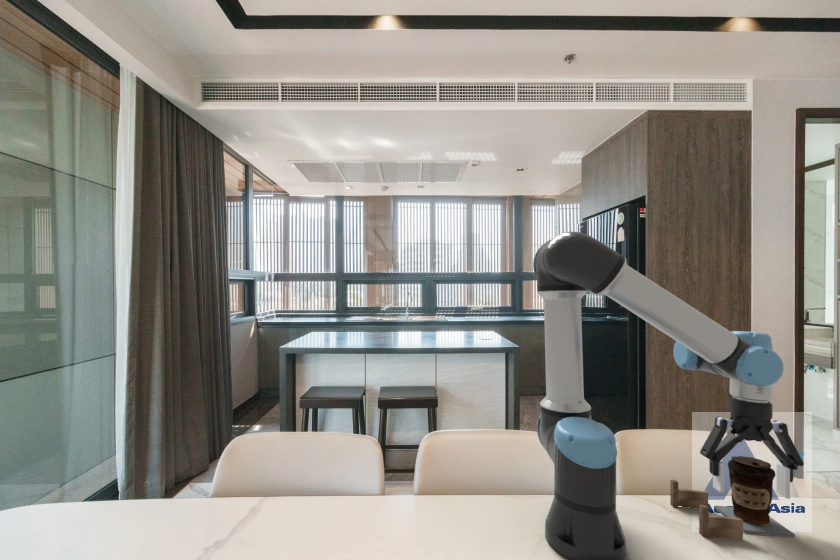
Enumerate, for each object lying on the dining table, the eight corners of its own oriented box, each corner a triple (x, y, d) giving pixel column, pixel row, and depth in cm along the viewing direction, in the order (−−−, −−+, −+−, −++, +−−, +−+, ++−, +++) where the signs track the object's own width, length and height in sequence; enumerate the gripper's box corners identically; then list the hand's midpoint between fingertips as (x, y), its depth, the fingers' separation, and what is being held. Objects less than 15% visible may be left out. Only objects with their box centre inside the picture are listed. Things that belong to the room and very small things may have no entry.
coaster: (744, 532, 83) (744, 529, 83) (714, 507, 93) (714, 505, 93) (795, 537, 82) (795, 534, 82) (759, 511, 92) (759, 509, 92)
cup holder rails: (702, 536, 82) (702, 507, 82) (670, 504, 94) (670, 479, 95) (743, 540, 81) (743, 510, 81) (705, 507, 93) (705, 482, 94)
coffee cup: (779, 535, 82) (777, 472, 82) (728, 520, 87) (727, 462, 87) (774, 517, 89) (773, 459, 89) (727, 504, 94) (727, 450, 94)
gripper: (702, 399, 87) (701, 495, 86) (825, 407, 84) (826, 506, 83) (683, 391, 94) (682, 479, 93) (796, 398, 91) (796, 489, 90)
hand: (750, 492), depth 88 cm, fingers open, 13 cm apart
